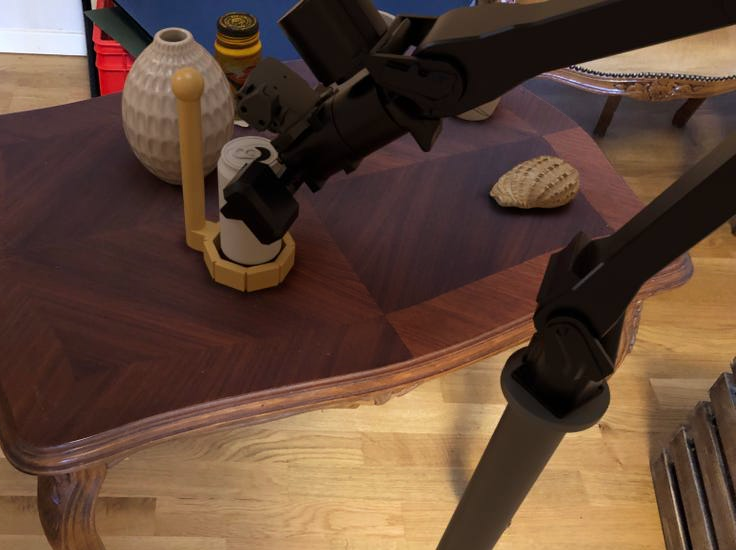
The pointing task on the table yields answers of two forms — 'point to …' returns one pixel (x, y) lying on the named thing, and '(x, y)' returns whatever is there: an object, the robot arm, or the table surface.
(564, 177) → the seashell
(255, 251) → the beverage can
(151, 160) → the vase
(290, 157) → the robot arm
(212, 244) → the holder
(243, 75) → the condiment
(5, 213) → the table surface
